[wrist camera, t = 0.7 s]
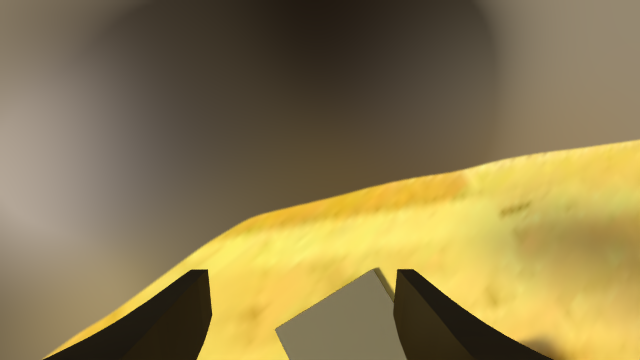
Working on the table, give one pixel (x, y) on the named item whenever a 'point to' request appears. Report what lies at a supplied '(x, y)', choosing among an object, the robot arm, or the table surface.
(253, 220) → the table surface
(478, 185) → the table surface
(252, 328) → the table surface
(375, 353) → the desk pad
